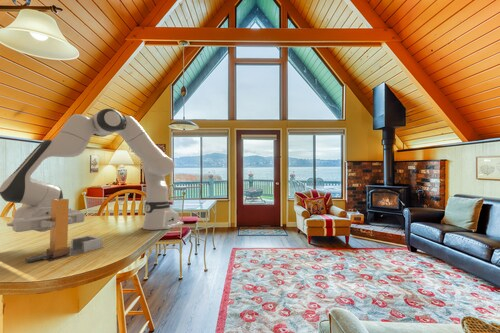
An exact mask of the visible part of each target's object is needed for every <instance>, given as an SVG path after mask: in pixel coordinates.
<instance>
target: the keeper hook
mask: <svg viewBox="0 0 500 333" xmlns="http://www.w3.org/2000/svg"><path fill="white" fill-rule="evenodd" d="M70 242H71V243H70V249H75V248H79V247H82V252H84V253H88V252H91V250H92V251H96V250H99V248H100V249H103V248H102V247H103V238H102V237H98V236H94V235H86V236H80V237H75V238H72V239H71V241H70ZM95 249H96V250H95ZM87 251H88V252H87Z"/></svg>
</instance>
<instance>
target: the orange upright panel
mask: <svg viewBox="0 0 500 333" xmlns="http://www.w3.org/2000/svg"><path fill="white" fill-rule="evenodd" d="M69 201H70V199H69V198H63V199H52V200H51V221H55V222H56V223H55V225H56V226H55V227H50V230H49V231H50V234H49V247H48V248H47V249H46V253H45V254H40V255H36V256H32V257H28V258H25V260H24V261H25V262H27V263H30V262H35V261H38V260H44V259H43V258H47V257H52V258H55V257H59V256H63V255H67V254H70V249H71V246H68V238H69V237H68V234H69V233H68V232H69V231H68V230H69V224H68V208H70V206H69V204H70V203H69Z"/></svg>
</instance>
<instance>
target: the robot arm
mask: <svg viewBox="0 0 500 333" xmlns="http://www.w3.org/2000/svg"><path fill="white" fill-rule="evenodd" d="M114 133H116V134H118V135H120V137H122V139H123V140H124V142H125V143H126V144H127V146H128V147H129V149H130V150H132V152H133V154H135V156H137V157H138V158H139V159H141V160H142V161H143V162H142V163H141V164H142V165H141V169H142V172H143V174H144V181H145V189H146V190H145V191H146V192H145V193H146V195H145V202H144V211H145V214H144V220H143V224H142V227H141V228H142V229H143V230H147V231H148V230H150V231H153V230H156V231H157V230H169V229H172V228H175V227H176V228H177V227H178V226H180V225H183V224H184V221H181V220H180V216H179V213H178V212H176V210H174V209H173V208H172V207H171V206H172V205H173V206H174V201H171V200H170V201H169V200H168V199H169V192H168V191H169V186H168V184H167V183H166V178H165V176H168V175H171V173H173V171H174V170H175V162H174V160H173V159H172V158H171V157H169V156H168V155H167V154H166V153H165V152H164V151H163V150H162V149H161V148H160V147H158V145H157V144H156V143H155V142H154V141H153V140H152V138H151V137H150V135H149V134H148V133H147V132H146V130H145V129H144V127H143V126H142V125H141V124H140V123H139V122H138V120H136V119H135V118H134V117H133V116H131V115H124V114H122V113H121V112H119V111H118V110H117V109H114V108H103V109H101V110H99V111H97V112H95V114H93V115H92V116H91V117H89V116H86V115H84V114H79V113H76V114H72V115H71V116H70V117H69V118H68V119H67V120H66V121H65V123H63V125H62V127H61V128H60V130H59V132H58V134H56V136H54V137H53V138H52V139H45V140H43V141H42V142H41V143H39V144H38V145H37V146H36V147H35V148H34V150H32V152H31V153H29V155H28V156H27V157H26V158H25V159H24V160H23V161H22V163H21V164H20V165H18V166H19V167H17V168H16V169H15V170H14V172H13V173H12V174H10V176H8V177H7V178H6V179H5V180H4V181H3V182H2V184H1V185H0V196H1V199H3V200H4V201H5V202H9V203H15V204H21V205H23V206H21V207H19V208H18V209H16V210H15V211H14V212H13V219H12V221H11V222H7V223H6V226H7V227H12V228H11V229H12V231H14V232H15V233H23V232H28V231H35V232H40V233H44V232H48V231H50V227H55V226H56V225H55V223H56V222H55V221H51V200H52V199H64V194H63V190H62V188H61V187H60V186H59V185H55V184H52V183H50V182H45V181H41V180H37V179H34V178H32V177H31V176H33V173H35V171H36V170H37V169H38V167H39V166H40V165H42V163H43V161H45V160H46V159H48V158H52V157H53V158H54V157H55V158H57V157H59V158H74V157H78V156H80V155H82V154H83V153H84V151H85V150H86V149H87V147H88V145H89V142H90V140H91V138H92V137H93V136H95V137H100V138H101V137H102V138H103V137H107V136H110V135H113V134H114ZM85 220H86V214H85V212H84V211H80V210H76V209H72V208H70V207H68V225H73V224H79V223H84V222H85Z"/></svg>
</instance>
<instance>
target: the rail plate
mask: <svg viewBox="0 0 500 333" xmlns="http://www.w3.org/2000/svg"><path fill="white" fill-rule="evenodd" d="M103 248H104V247H103V246H102V248H99V249H103ZM99 249H98V250H99ZM96 250H97V249H95V250H94V251H96ZM91 251H93V250H91ZM91 251H90V252H91ZM84 253H85V252H82V247H79V248H75V249H71V248H70V254H67V255H63V256H59V257H55V258H52V257H47V258H43V259H42V260H45V261H47V262H53V261H57V260H62V259H65V258H68V257H72V256H73V257H74V256H76V255H80V254H84ZM86 253H89V251H87V252H86Z"/></svg>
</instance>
